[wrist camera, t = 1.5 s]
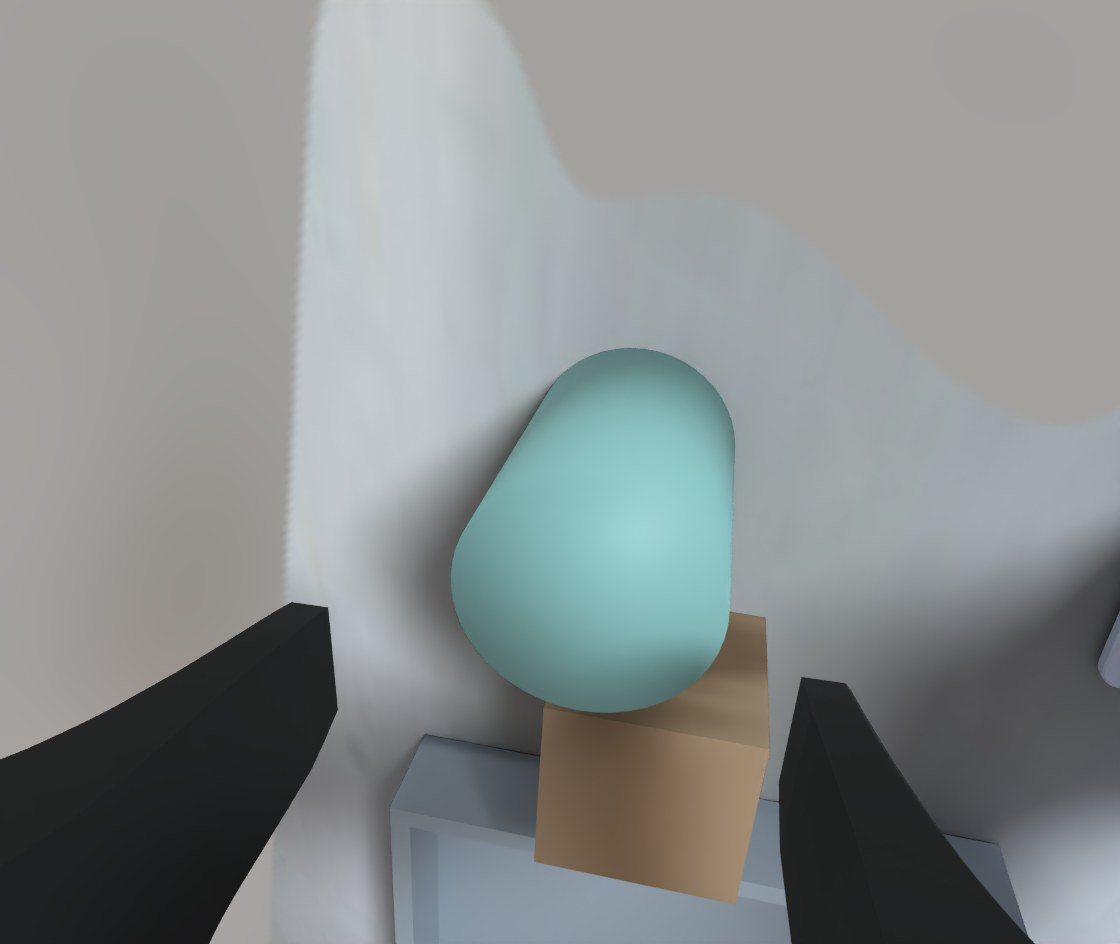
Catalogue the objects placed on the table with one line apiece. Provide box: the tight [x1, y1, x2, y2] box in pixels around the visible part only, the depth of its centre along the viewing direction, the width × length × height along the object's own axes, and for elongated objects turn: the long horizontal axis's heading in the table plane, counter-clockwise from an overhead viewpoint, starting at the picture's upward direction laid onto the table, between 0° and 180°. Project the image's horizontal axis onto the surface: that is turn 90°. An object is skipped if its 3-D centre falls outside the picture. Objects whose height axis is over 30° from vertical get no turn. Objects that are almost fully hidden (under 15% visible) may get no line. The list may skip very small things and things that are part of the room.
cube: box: [534, 612, 770, 905], centre depth 22 cm, size 5×5×5 cm
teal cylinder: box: [450, 348, 735, 713], centre depth 18 cm, size 5×5×7 cm
